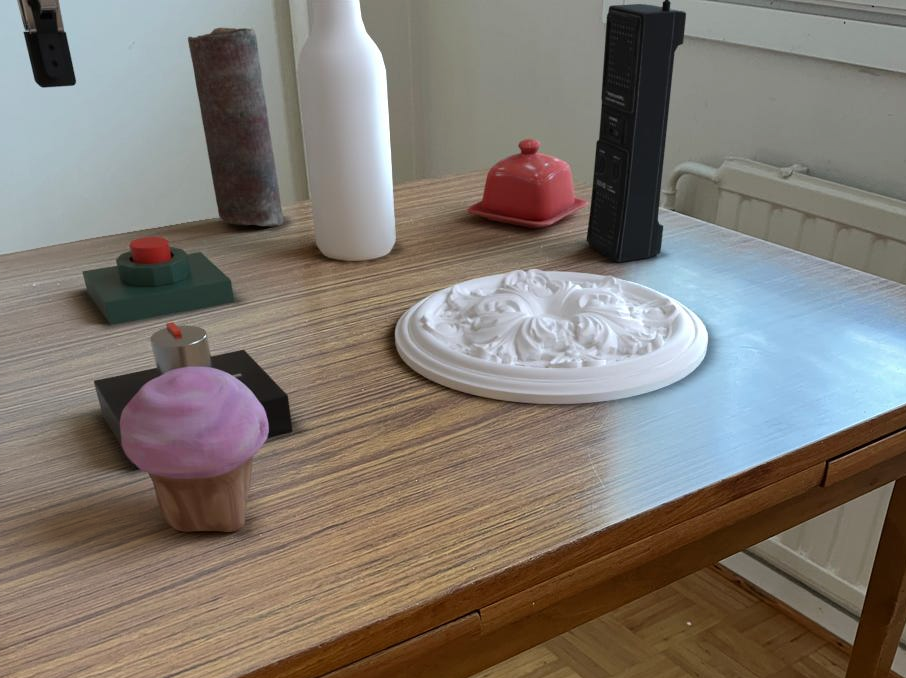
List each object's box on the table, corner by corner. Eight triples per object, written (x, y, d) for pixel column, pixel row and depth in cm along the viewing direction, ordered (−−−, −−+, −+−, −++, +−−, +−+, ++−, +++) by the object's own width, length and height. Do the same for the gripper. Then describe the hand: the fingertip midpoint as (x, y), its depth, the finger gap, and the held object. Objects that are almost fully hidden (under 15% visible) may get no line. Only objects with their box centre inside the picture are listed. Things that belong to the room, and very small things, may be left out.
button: (138, 269, 93) (134, 250, 92) (129, 258, 95) (125, 240, 94) (176, 262, 94) (172, 244, 93) (165, 252, 97) (162, 234, 96)
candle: (239, 238, 112) (207, 34, 99) (207, 224, 116) (173, 27, 104) (295, 225, 116) (271, 27, 103) (262, 212, 120) (236, 20, 108)
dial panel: (134, 470, 70) (124, 430, 68) (102, 416, 77) (92, 378, 75) (293, 432, 74) (287, 392, 72) (249, 384, 81) (243, 347, 79)
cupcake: (129, 554, 61) (88, 406, 55) (163, 484, 68) (130, 346, 62) (270, 553, 61) (245, 405, 55) (290, 484, 68) (270, 345, 62)
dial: (223, 390, 73) (213, 334, 70) (170, 403, 71) (158, 346, 69) (206, 371, 76) (195, 317, 73) (155, 383, 74) (142, 327, 71)
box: (110, 325, 91) (100, 282, 89) (87, 293, 98) (77, 252, 96) (234, 302, 96) (227, 260, 94) (204, 273, 103) (197, 233, 100)
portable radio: (578, 243, 110) (593, -25, 94) (625, 236, 112) (647, -28, 96) (613, 264, 104) (635, -18, 88) (662, 256, 106) (691, -21, 90)
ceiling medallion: (508, 266, 104) (508, 235, 102) (757, 321, 91) (763, 287, 89) (330, 352, 86) (326, 316, 84) (608, 436, 73) (611, 396, 71)
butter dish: (545, 237, 112) (548, 156, 106) (461, 221, 117) (460, 143, 111) (592, 212, 119) (597, 135, 114) (512, 198, 124) (513, 124, 119)
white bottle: (335, 267, 104) (301, -84, 85) (304, 245, 110) (266, -87, 91) (409, 254, 107) (392, -87, 88) (376, 233, 113) (353, -90, 94)
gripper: (-69, -188, 78) (-2, 74, 90) (-46, -193, 68) (25, 103, 79) (30, -185, 81) (82, 69, 92) (66, -189, 71) (119, 96, 82)
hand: (56, 84), depth 86 cm, fingers closed
